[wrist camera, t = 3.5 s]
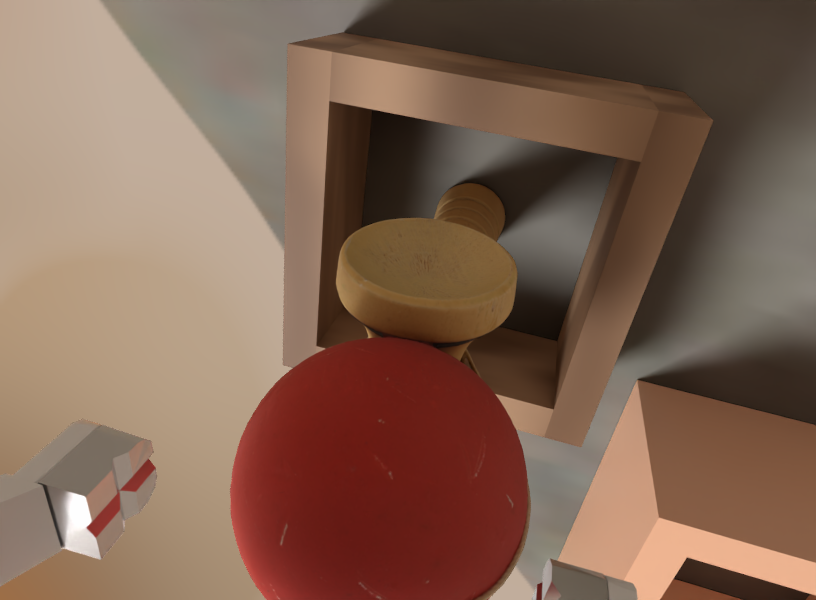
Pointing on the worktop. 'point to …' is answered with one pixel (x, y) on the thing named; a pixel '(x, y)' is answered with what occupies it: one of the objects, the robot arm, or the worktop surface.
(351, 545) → the kendama
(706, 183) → the worktop surface
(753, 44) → the worktop surface
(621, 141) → the block
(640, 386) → the stand
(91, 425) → the robot arm
